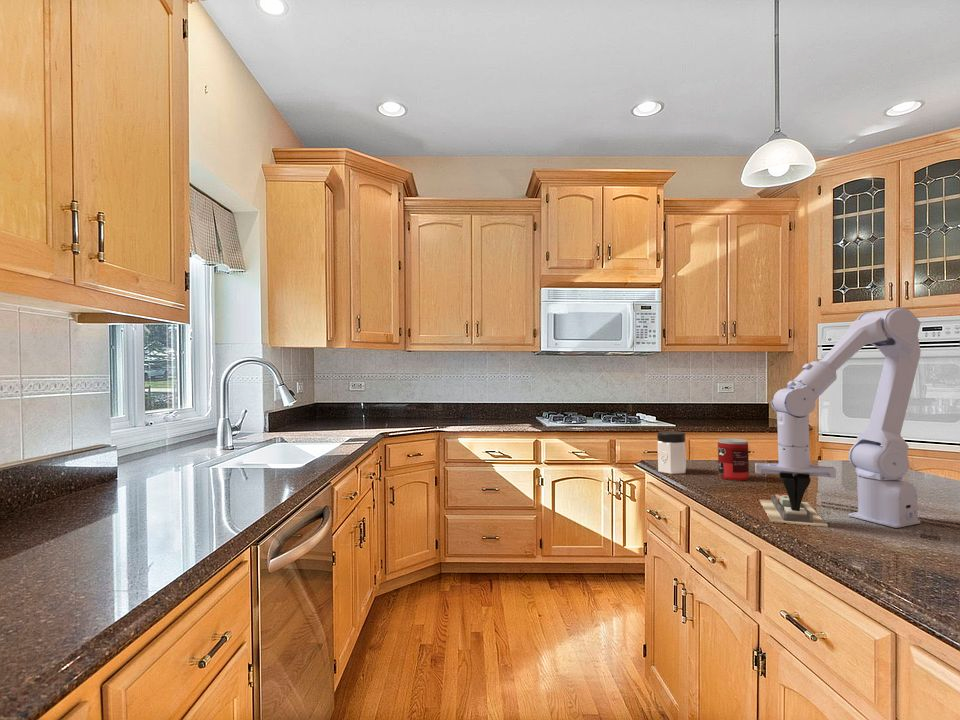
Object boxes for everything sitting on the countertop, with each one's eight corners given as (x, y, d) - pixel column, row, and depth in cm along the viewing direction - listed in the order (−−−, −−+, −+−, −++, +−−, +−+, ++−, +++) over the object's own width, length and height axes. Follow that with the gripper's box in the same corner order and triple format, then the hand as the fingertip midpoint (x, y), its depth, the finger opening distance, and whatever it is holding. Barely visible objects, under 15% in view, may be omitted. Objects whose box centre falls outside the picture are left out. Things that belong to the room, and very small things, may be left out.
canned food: (722, 474, 155) (721, 437, 156) (751, 477, 150) (750, 439, 150) (715, 478, 149) (714, 440, 150) (745, 482, 144) (744, 442, 145)
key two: (801, 507, 113) (801, 500, 113) (782, 506, 114) (782, 499, 114) (797, 503, 116) (797, 496, 116) (779, 502, 117) (779, 495, 117)
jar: (651, 470, 162) (650, 432, 162) (667, 467, 167) (666, 430, 167) (677, 475, 155) (676, 435, 155) (692, 471, 160) (691, 432, 160)
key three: (796, 505, 118) (796, 498, 118) (778, 504, 119) (778, 497, 119) (793, 501, 121) (792, 495, 121) (775, 500, 122) (775, 494, 122)
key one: (807, 519, 107) (807, 512, 107) (787, 517, 109) (787, 510, 109) (803, 514, 111) (803, 507, 111) (784, 513, 112) (784, 506, 112)
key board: (827, 527, 105) (827, 518, 105) (771, 522, 108) (771, 514, 108) (807, 504, 121) (807, 496, 121) (759, 500, 125) (759, 493, 125)
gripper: (829, 443, 111) (831, 507, 110) (753, 441, 116) (754, 501, 116) (837, 448, 104) (839, 516, 104) (756, 445, 110) (757, 509, 110)
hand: (795, 509), depth 110 cm, fingers closed, pressing on key one
